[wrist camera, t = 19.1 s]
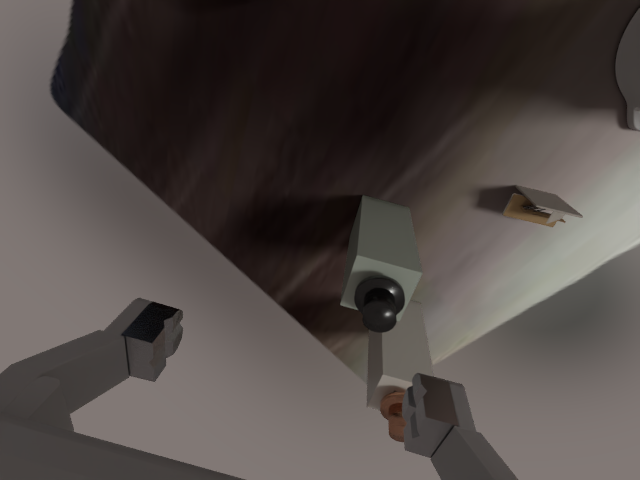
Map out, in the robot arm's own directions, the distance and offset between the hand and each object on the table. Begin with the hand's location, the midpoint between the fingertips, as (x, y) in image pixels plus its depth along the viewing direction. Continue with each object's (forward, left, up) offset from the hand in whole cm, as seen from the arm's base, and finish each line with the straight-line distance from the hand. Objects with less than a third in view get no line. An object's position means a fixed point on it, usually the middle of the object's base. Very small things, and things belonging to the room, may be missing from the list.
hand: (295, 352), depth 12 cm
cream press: (-15, +28, -39) cm, 50 cm away
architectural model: (-26, +3, -40) cm, 47 cm away
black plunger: (-7, +12, -36) cm, 38 cm away
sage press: (-7, +12, -39) cm, 42 cm away
